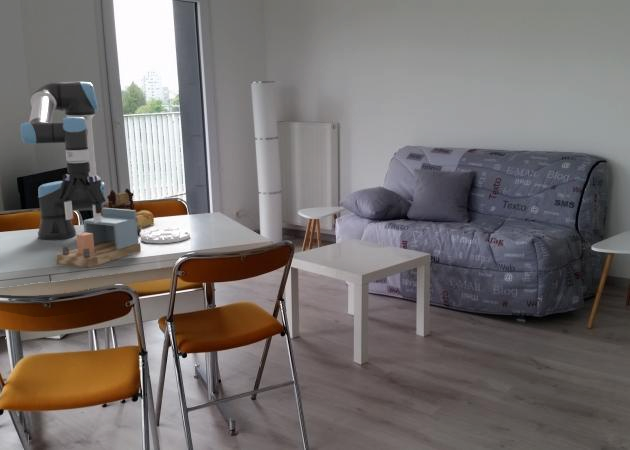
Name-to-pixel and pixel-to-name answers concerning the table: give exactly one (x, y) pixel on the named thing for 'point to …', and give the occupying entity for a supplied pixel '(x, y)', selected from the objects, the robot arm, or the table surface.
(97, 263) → the housing base
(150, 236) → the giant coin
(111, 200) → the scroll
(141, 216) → the bread loaf
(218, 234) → the table surface
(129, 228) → the housing cover
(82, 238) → the peg
